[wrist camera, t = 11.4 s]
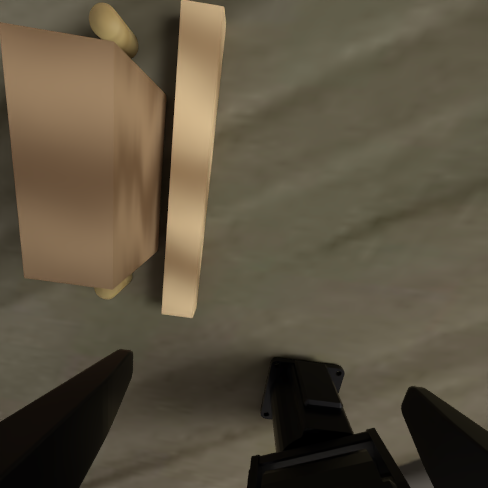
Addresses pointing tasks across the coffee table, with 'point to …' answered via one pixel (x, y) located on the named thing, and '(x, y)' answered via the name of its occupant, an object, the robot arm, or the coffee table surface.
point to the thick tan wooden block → (82, 156)
